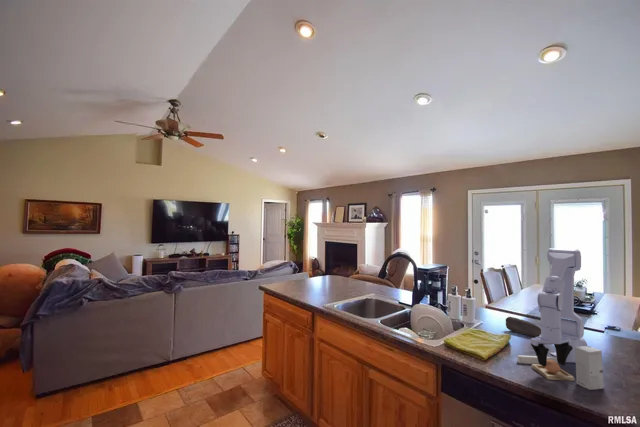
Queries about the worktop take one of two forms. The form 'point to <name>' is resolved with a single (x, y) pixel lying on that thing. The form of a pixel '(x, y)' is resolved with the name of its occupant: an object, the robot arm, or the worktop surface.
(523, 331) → the perforated stone tool
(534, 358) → the bar
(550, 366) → the ball
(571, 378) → the tray
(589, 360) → the skincare box
